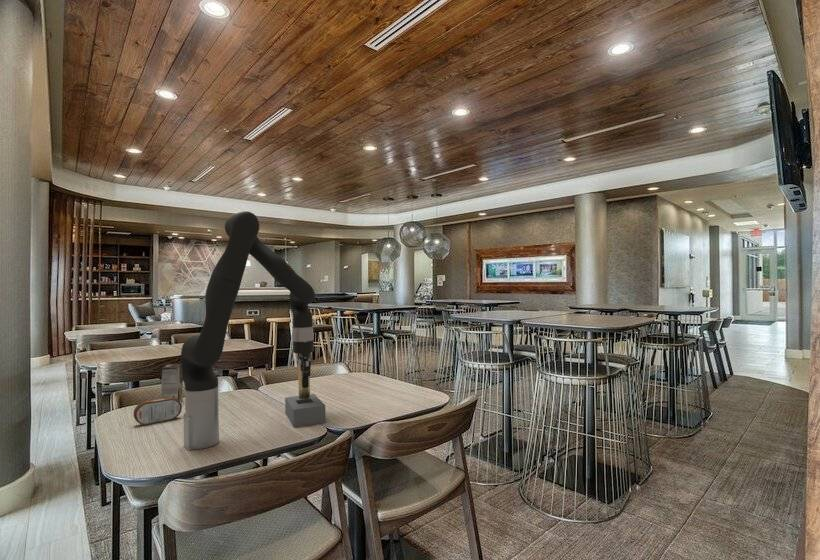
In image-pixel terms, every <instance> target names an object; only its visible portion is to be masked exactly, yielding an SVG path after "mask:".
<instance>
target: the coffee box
mask: <svg viewBox="0 0 820 560" xmlns="http://www.w3.org/2000/svg"><path fill="white" fill-rule="evenodd" d="M160 370H161V371H160V372H161V373H160V374H161V376H160V377H161V379H160V381H161V398H166V397H175V398H177V399H178V400H179V401H180V402H181V401H182V400H184V395H183V394H184V391H183V390H184V386H183V385H184V384H183V383H184V381H183V378H182V367H181V363H168V364H165V365H164V366H162V367H161V368H160ZM182 402H183V401H182ZM182 402H181V403H182Z"/></svg>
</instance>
